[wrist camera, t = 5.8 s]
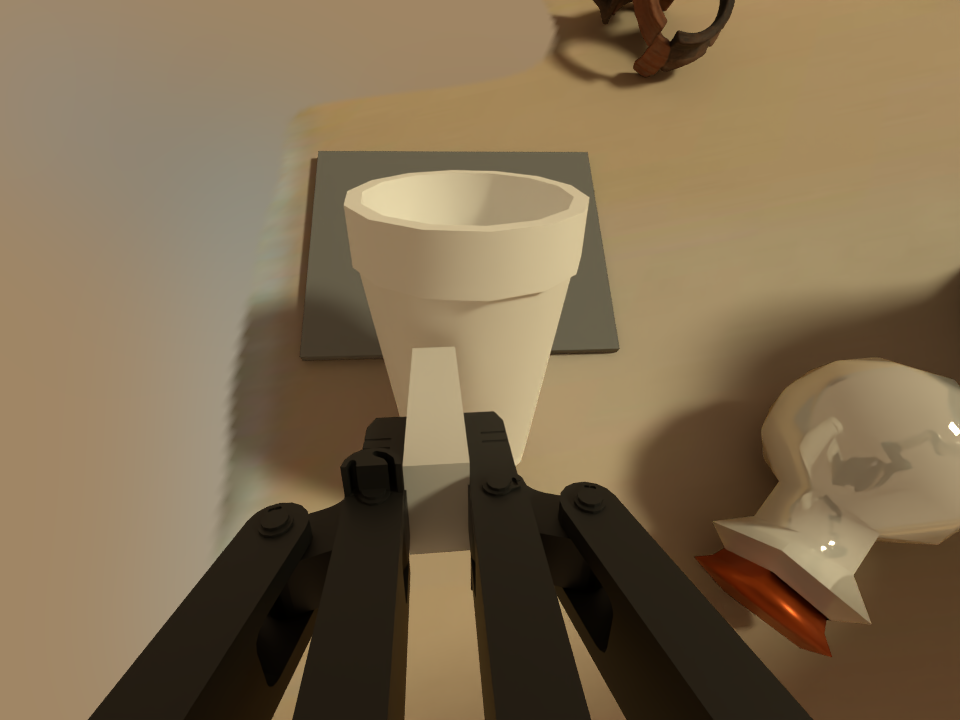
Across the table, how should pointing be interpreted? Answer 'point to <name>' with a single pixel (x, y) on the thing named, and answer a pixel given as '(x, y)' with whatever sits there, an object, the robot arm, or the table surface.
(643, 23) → the brown curved ring piece
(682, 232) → the table surface
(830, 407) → the potion bottle
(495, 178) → the foam cup
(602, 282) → the mat
